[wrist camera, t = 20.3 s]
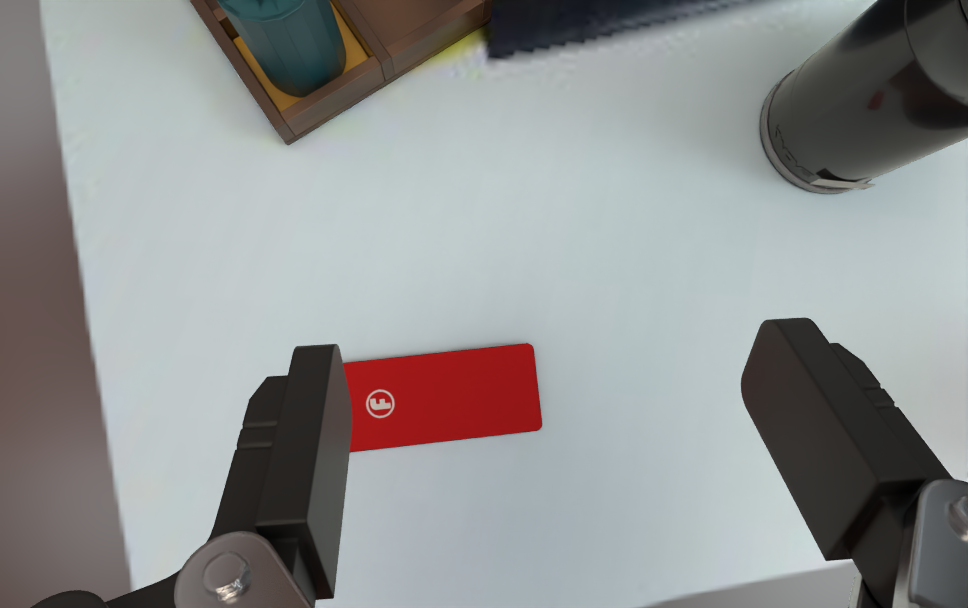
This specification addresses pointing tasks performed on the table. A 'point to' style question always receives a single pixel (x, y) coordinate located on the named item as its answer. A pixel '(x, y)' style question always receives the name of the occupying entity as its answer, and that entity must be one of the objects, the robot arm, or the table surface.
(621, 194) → the table surface
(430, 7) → the compartment tray
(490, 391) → the electronic device
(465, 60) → the table surface
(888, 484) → the robot arm
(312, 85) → the bottle
